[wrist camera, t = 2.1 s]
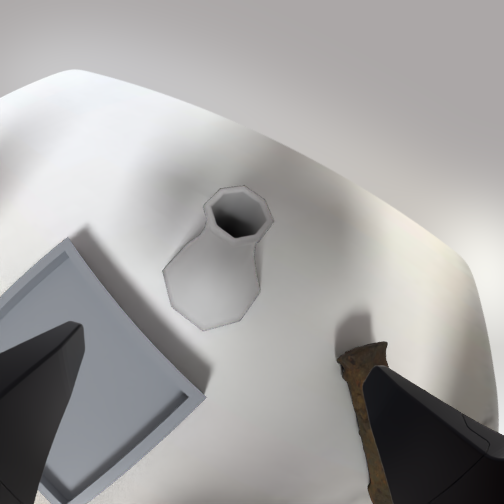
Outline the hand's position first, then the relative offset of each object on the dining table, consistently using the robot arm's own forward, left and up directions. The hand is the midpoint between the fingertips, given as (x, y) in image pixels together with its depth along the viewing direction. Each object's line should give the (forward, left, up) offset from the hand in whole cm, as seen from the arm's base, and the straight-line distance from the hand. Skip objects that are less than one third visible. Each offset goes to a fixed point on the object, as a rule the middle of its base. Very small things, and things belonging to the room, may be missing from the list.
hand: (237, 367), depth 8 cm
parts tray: (-8, +6, -13) cm, 17 cm away
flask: (+6, +4, -13) cm, 15 cm away
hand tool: (+5, -16, -13) cm, 21 cm away
